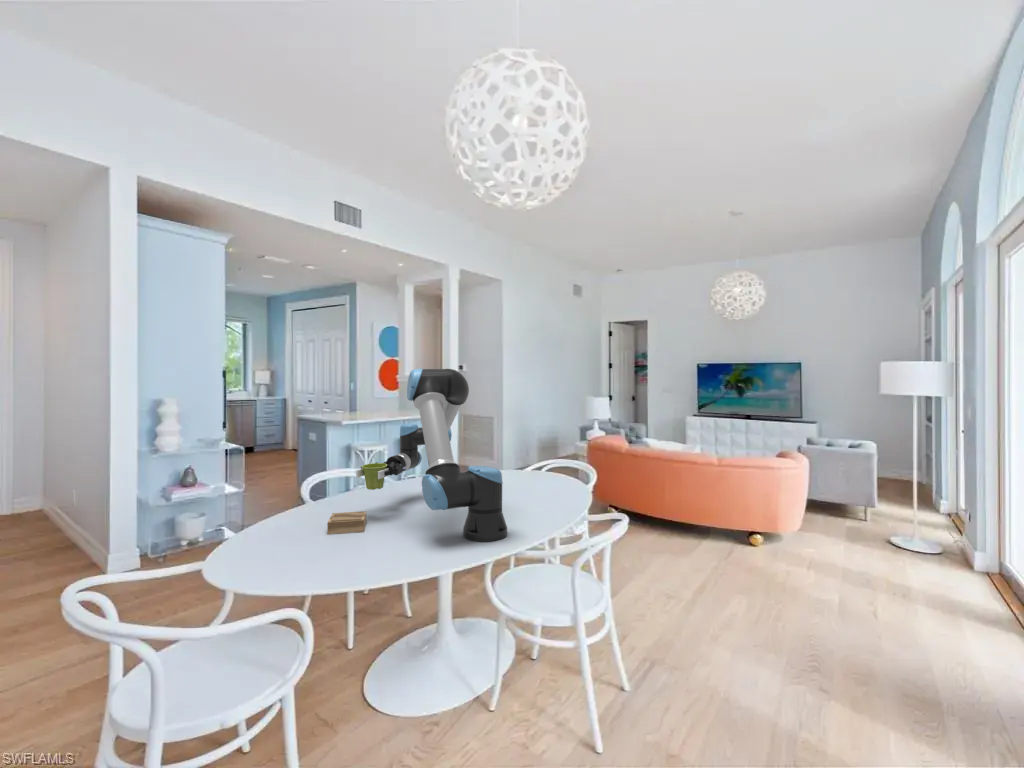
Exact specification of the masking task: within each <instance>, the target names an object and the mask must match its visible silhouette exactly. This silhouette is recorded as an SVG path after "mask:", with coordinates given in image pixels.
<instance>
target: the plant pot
mask: <svg viewBox="0 0 1024 768" xmlns="http://www.w3.org/2000/svg"><path fill="white" fill-rule="evenodd" d="M361 466H362V468H363V471H364V480H365V481H364V482H365V488H366V489H367V490H370V491H371V490H372V491H373V490H382V489H383V488H384V482H385V477H384V478H381V479H378V471H381V470H384V469H386V466H387V464H384V462H377V463H376V462H374V463H367V464H363V465H361Z"/></svg>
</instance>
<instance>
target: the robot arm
mask: <svg viewBox="0 0 1024 768" xmlns="http://www.w3.org/2000/svg"><path fill="white" fill-rule="evenodd" d="M406 385H407V387H406V397H407V400H408V401H409V402H412V401H413V406H414V407H415V408H417V410H419V411H418V412H419V416H420V424H421V427H419V426H418V424H417V423H413V422H412V423H411V422H409V423H402V424H401V425H400V427H399V428H400V429H399V443H400V444H399V453H398V454H395V455H392V456H390V457H388V458H387V460H386V461H384V462H383V463H384V464H387V466H386V469H384V470H381V471H378V479H381V478H384V479H385V478H386V477H389V476H393V475H394V476H398V475H399V474H403V473H404V472H406V471H408V470H411V469H414V468H416V467H418V466H419V465H420V464H421V463H422V460H423V459H422V458H423V457H422V454H421V452H420V451H419V450H418V449H419V446H425V453H426V458H427V463H428V468H427V469H426V470H425V475H423V476H422V479H421V491H422V496H423V499H424V501H425V504H426V506H427V507H428V508H429V509H430V510H433V511H445V510H451V509H459V508H467V507H468V510H467V511H468V512H467V516H466V518H465V522H464V525H463V528H462V529H463V530H462V536H463V537H464V538H465V539H467V540H470V541H474V542H494V541H499V540H502V539H504V538H506V537H508V525H507V523H506V520H505V516H504V514H503V513H504V512H503V484H504V483H503V475H502V471H501V470H500V469H498V468H497V467H496V468H495V467H492V466H485V465H469V466H468V467H467V471H461V468H460V465H459V464H458V463H457V462H456V461H455V460H454V455H453V450H452V445H451V441H452V429H451V427H452V425H453V422H454V420H455V419H456V416H457V414H458V412H459V410H460V408H461V406H462V405H463V404H466V403H465V402H466V400H467V399H468V397H469V394H470V393H469V392H470V388H469V384H468V381H467V379H466V377H465V376H464V375H463V374H462V372H460V371H458V370H456V369H452V368H414V369H412V370H410V372H409V375H408V378H407V384H406ZM375 463H378V462H377V461H376V462H375ZM363 476H364V471H363V468H362V465H361V466H360V468H358V469H356V470H355V478H357V479H358V478H361V477H363ZM364 477H365V476H364Z"/></svg>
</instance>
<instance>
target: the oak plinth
mask: <svg viewBox="0 0 1024 768" xmlns="http://www.w3.org/2000/svg"><path fill="white" fill-rule="evenodd" d="M366 524H367V510H365V511H364V510H363V511H347V512H346V511H345V512H332V513H331V514H330V517H329V518H328V521H327V524H326V525H327V535H334V534H333V533H340V534H349V533H348V532H355V533H364V532H365V529H366ZM363 531H364V532H363Z"/></svg>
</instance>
